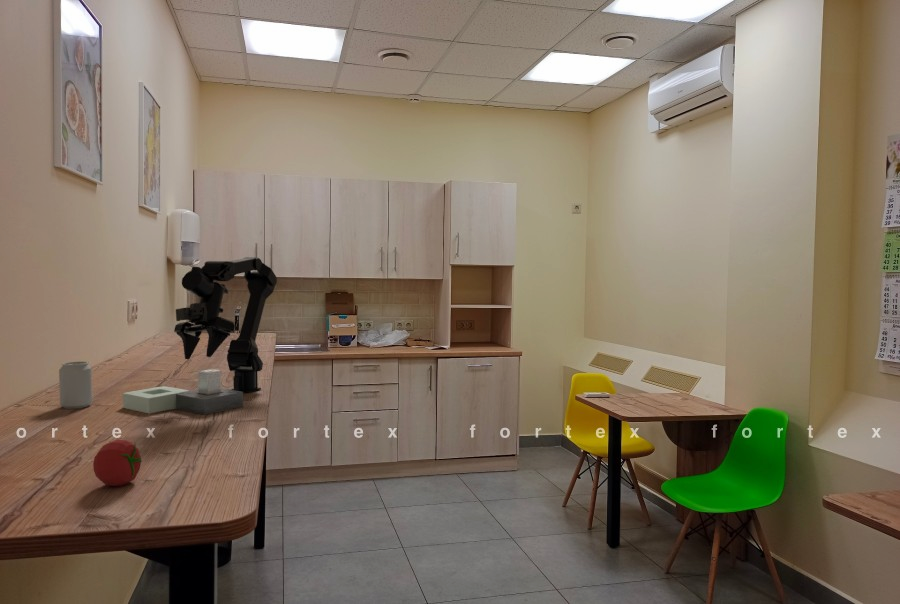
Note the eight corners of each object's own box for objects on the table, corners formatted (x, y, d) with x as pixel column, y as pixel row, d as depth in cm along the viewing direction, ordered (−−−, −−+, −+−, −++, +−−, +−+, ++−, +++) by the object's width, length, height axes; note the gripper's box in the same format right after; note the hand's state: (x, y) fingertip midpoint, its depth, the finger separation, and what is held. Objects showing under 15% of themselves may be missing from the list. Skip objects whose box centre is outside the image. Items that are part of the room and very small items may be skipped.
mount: (214, 401, 175) (214, 387, 175) (242, 406, 169) (242, 391, 168) (176, 409, 165) (175, 394, 165) (204, 414, 159) (204, 399, 158)
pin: (211, 405, 170) (211, 369, 169) (221, 407, 168) (220, 370, 167) (198, 408, 166) (198, 371, 166) (208, 410, 164) (207, 372, 164)
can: (98, 403, 171) (97, 360, 170) (79, 410, 163) (78, 364, 163) (73, 403, 172) (72, 360, 171) (53, 409, 164) (52, 364, 164)
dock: (164, 399, 176) (164, 386, 176) (190, 405, 170) (190, 390, 170) (123, 407, 166) (122, 393, 166) (149, 413, 160) (148, 398, 159)
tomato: (90, 435, 107) (133, 428, 107) (116, 452, 113) (156, 445, 113) (79, 480, 102) (124, 473, 102) (107, 495, 109) (149, 488, 108)
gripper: (163, 297, 170) (149, 352, 165) (207, 289, 160) (193, 347, 155) (198, 310, 178) (185, 363, 173) (241, 303, 169) (229, 358, 163)
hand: (197, 358), depth 166 cm, fingers open, 9 cm apart
